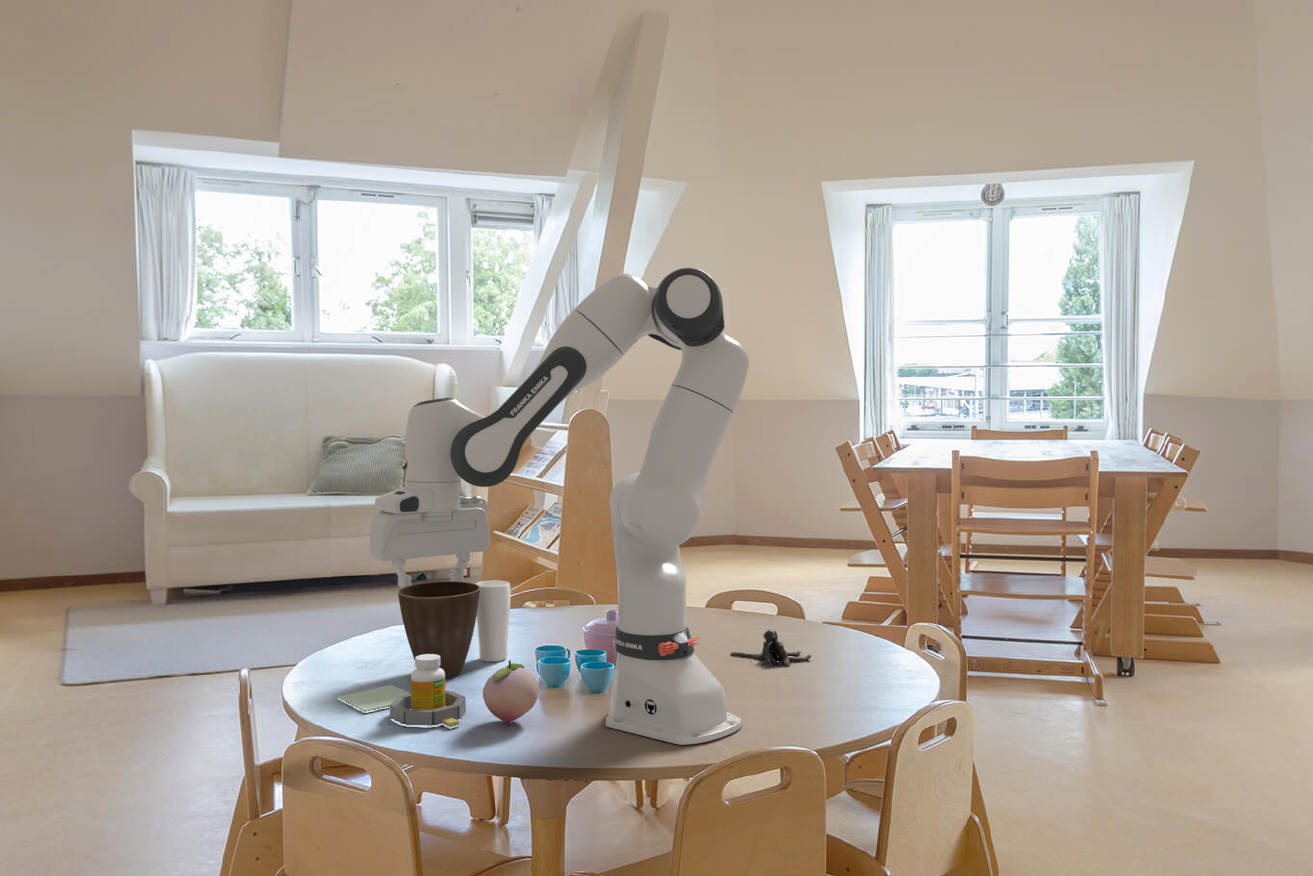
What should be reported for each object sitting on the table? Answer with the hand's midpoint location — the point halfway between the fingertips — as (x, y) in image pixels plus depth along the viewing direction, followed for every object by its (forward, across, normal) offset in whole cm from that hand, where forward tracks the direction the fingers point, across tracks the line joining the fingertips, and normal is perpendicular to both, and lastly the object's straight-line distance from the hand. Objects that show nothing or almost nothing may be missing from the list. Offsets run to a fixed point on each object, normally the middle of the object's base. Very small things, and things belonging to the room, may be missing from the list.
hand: (431, 583), depth 160 cm
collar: (+21, +1, +1) cm, 21 cm away
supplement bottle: (+22, +1, +1) cm, 22 cm away
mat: (+22, +3, -12) cm, 25 cm away
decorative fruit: (+21, -7, +13) cm, 26 cm away
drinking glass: (+21, -26, -21) cm, 40 cm away
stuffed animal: (+20, -66, +15) cm, 71 cm away
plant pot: (+22, -13, -19) cm, 32 cm away
